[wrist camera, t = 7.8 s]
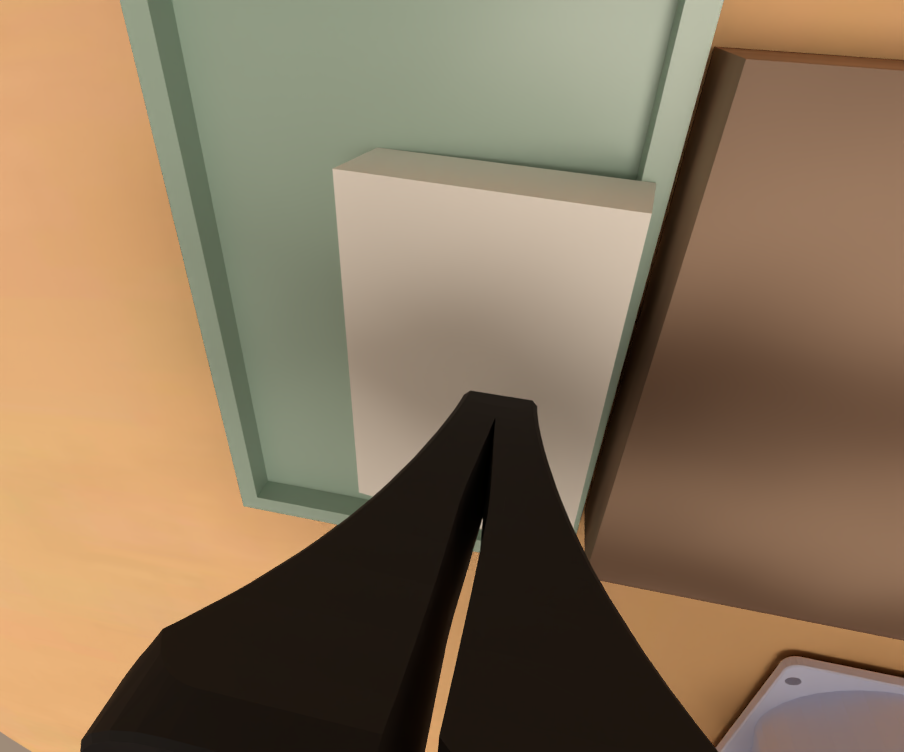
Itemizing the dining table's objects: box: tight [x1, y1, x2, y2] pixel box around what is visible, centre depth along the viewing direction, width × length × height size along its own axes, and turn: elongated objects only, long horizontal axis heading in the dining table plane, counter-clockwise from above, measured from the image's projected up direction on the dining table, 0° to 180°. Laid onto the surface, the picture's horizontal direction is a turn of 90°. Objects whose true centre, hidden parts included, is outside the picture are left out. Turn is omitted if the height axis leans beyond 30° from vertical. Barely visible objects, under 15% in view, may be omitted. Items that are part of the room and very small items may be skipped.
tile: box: [332, 147, 656, 529], centre depth 13 cm, size 9×6×2 cm, turn 178°
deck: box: [585, 47, 904, 640], centre depth 12 cm, size 13×10×2 cm
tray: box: [120, 0, 724, 552], centre depth 14 cm, size 16×11×1 cm
